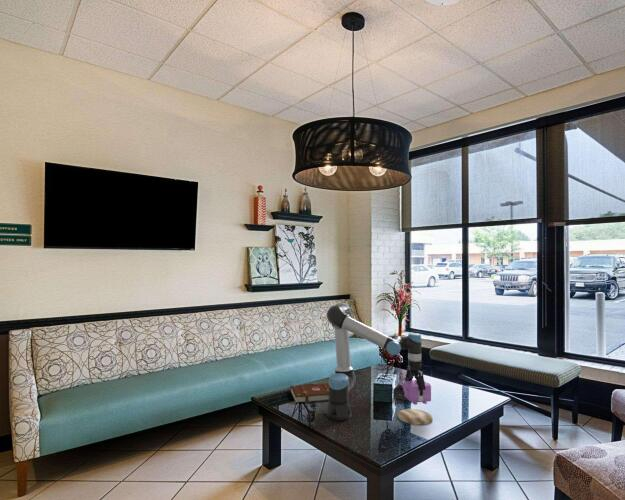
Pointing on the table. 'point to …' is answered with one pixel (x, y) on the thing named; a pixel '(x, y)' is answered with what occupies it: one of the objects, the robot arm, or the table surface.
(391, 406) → the table surface
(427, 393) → the teapot
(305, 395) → the book
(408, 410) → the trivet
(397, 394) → the camera
